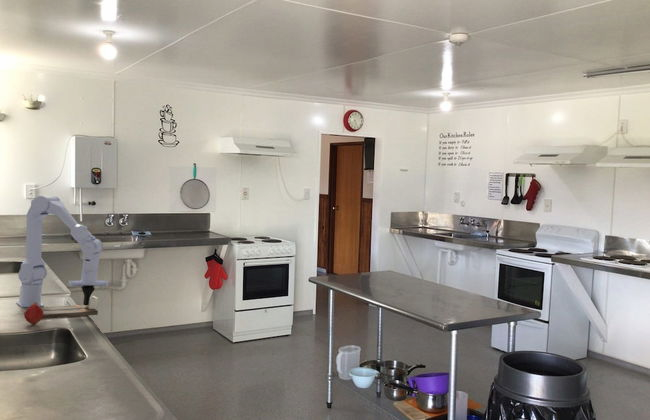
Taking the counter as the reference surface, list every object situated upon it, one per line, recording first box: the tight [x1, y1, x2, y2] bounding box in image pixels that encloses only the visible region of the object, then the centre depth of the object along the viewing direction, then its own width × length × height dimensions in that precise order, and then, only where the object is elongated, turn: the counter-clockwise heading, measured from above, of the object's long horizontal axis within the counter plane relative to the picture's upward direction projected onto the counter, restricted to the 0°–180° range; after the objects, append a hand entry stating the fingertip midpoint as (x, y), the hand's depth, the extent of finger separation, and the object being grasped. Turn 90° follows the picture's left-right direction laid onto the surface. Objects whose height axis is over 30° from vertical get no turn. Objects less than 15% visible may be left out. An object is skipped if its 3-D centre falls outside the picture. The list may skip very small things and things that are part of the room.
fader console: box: [40, 304, 99, 320], centre depth 214 cm, size 12×21×2 cm, turn 130°
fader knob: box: [85, 295, 99, 309], centre depth 220 cm, size 5×3×4 cm, turn 40°
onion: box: [23, 302, 43, 326], centre depth 194 cm, size 6×6×8 cm
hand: (86, 304), depth 219 cm, fingers closed, pressing on fader knob
